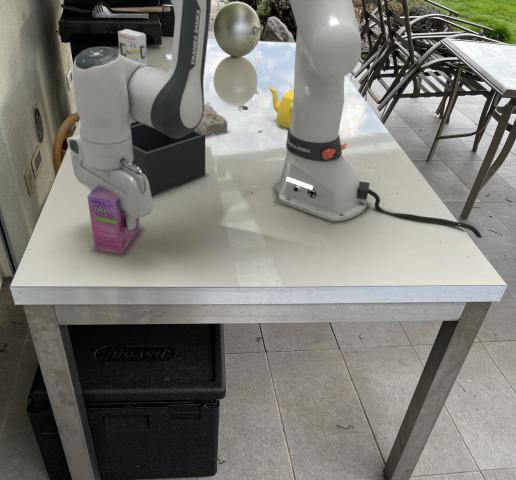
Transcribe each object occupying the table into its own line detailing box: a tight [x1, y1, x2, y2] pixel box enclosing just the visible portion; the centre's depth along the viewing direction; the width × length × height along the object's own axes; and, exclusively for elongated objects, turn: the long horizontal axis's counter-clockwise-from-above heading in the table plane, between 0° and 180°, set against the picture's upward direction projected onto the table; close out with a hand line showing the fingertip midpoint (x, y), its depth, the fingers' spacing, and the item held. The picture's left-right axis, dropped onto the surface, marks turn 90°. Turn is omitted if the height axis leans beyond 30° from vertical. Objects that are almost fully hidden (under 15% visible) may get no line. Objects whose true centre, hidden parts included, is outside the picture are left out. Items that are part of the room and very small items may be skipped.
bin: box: [130, 123, 206, 196], centre depth 128 cm, size 15×18×10 cm
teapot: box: [267, 86, 294, 129], centre depth 158 cm, size 14×13×10 cm
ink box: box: [117, 28, 148, 64], centre depth 186 cm, size 9×5×12 cm, turn 62°
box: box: [87, 185, 141, 256], centre depth 104 cm, size 10×6×12 cm, turn 168°
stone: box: [194, 104, 229, 136], centre depth 154 cm, size 13×6×10 cm
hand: (116, 218), depth 105 cm, fingers closed on box, 7 cm apart
